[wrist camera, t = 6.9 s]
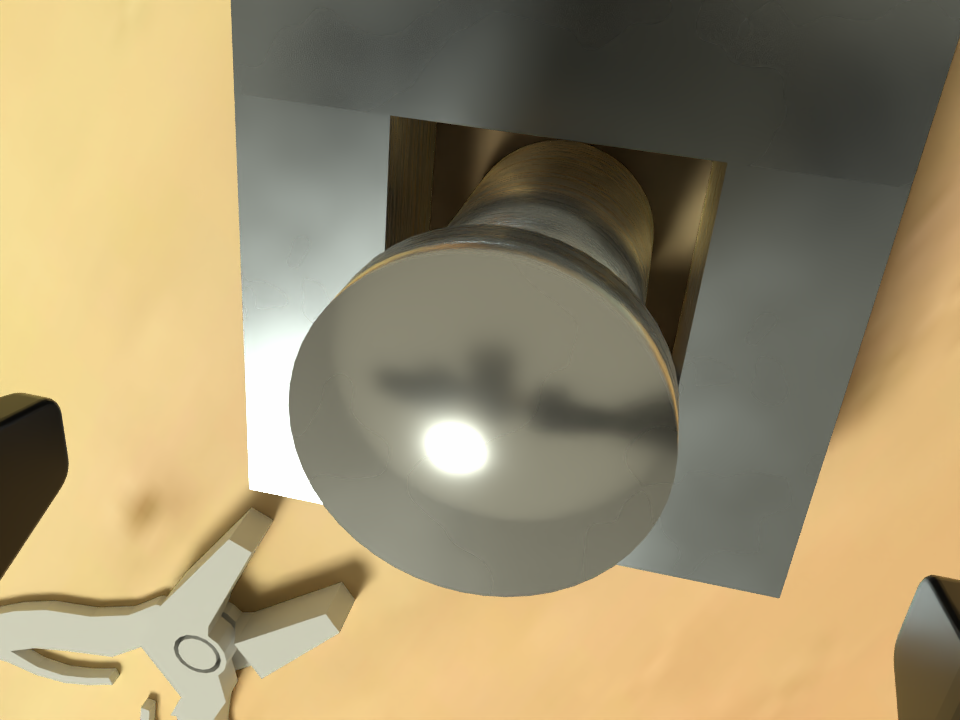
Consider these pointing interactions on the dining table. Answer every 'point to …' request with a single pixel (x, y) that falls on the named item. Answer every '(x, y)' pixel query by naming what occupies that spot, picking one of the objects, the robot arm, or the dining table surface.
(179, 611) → the pliers
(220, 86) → the dining table surface
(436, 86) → the metallic box with opening
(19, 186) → the dining table surface
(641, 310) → the pin
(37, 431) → the robot arm
